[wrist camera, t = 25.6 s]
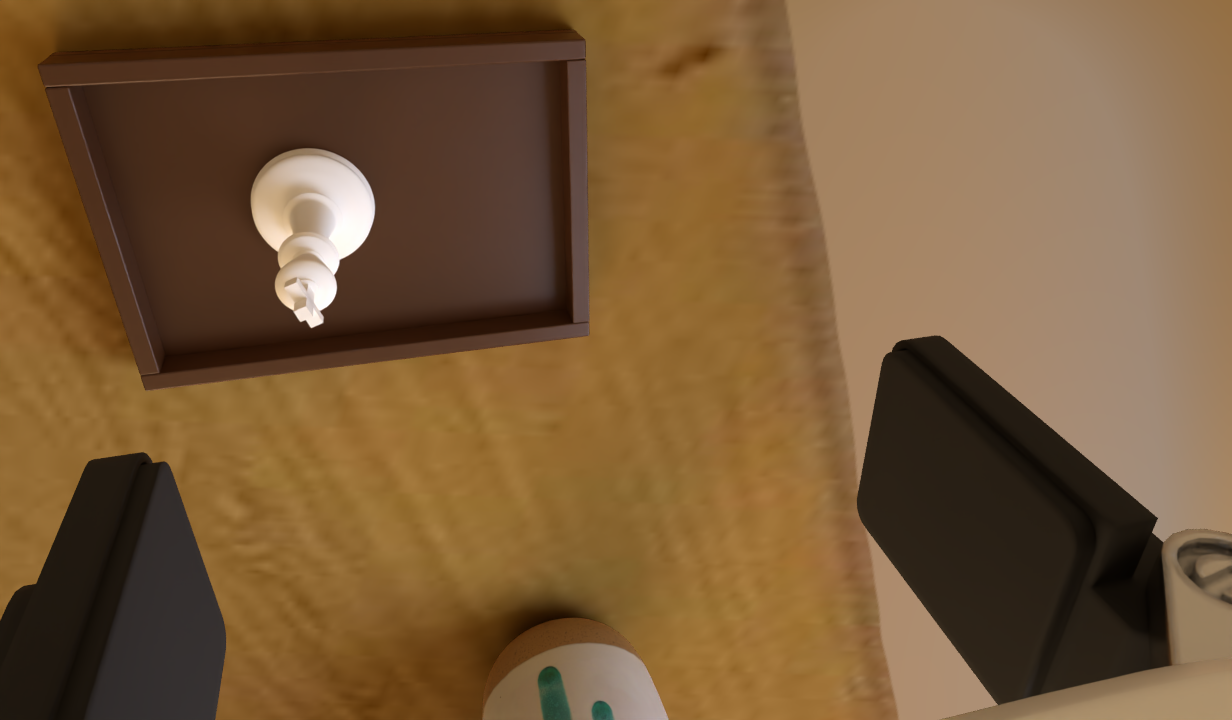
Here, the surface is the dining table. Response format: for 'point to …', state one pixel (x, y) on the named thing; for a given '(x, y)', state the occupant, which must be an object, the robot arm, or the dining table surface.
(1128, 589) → the robot arm
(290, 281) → the chess piece
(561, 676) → the vase
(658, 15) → the dining table surface
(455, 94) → the tray
